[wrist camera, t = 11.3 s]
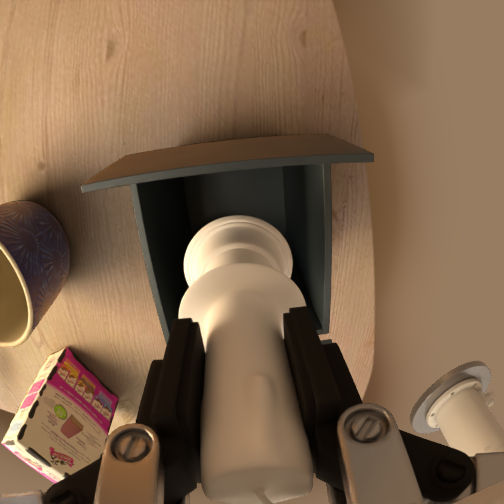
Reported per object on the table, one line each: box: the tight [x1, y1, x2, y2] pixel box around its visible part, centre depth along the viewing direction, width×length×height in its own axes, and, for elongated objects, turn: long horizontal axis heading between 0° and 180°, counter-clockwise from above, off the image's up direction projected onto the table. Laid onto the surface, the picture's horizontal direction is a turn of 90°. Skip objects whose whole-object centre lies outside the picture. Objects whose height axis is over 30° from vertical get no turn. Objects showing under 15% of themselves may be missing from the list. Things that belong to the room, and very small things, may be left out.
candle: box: [179, 215, 313, 504], centre depth 10 cm, size 5×5×12 cm
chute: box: [81, 134, 374, 344], centre depth 21 cm, size 11×10×20 cm
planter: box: [0, 201, 70, 347], centre depth 25 cm, size 12×12×11 cm
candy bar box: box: [1, 347, 119, 483], centre depth 30 cm, size 11×5×16 cm, turn 29°
